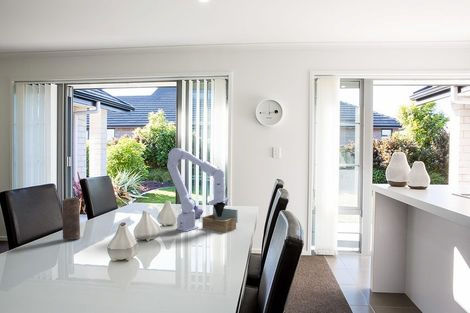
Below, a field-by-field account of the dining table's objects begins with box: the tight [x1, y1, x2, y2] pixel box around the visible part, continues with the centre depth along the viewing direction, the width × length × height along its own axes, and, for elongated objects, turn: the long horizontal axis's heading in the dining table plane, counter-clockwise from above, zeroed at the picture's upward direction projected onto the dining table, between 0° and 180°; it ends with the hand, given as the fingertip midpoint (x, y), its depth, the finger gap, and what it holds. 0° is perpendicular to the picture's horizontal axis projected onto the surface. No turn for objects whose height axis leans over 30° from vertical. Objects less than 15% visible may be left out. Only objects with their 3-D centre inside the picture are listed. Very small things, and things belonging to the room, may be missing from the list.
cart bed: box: [201, 213, 237, 233], centre depth 166 cm, size 9×16×6 cm, turn 56°
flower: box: [193, 204, 204, 219], centre depth 191 cm, size 9×9×10 cm
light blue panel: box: [212, 206, 239, 224], centre depth 171 cm, size 1×16×7 cm, turn 56°
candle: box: [61, 197, 81, 241], centre depth 147 cm, size 8×7×20 cm
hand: (219, 216), depth 166 cm, fingers closed
